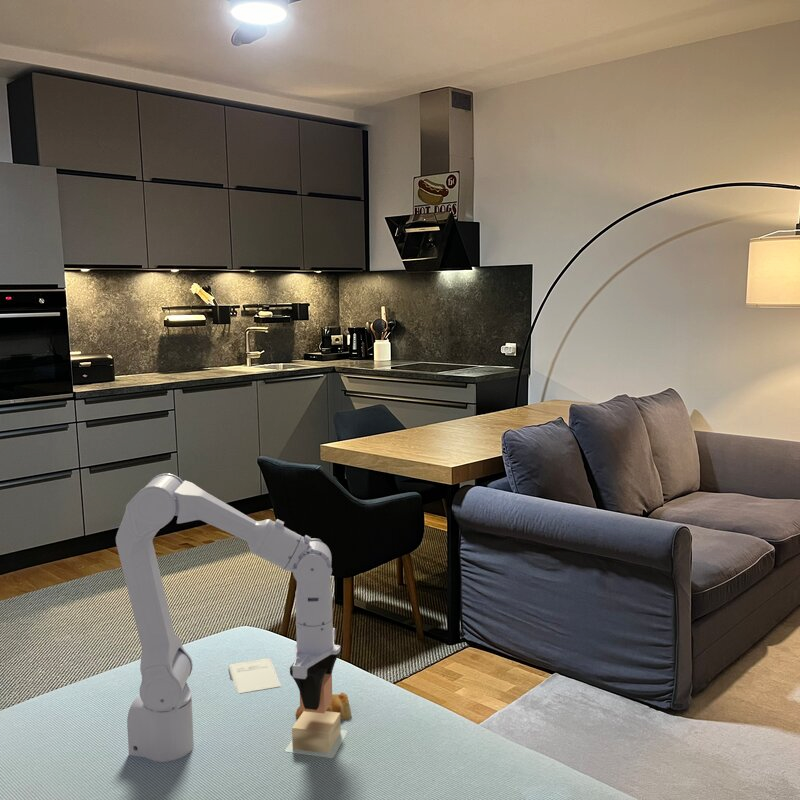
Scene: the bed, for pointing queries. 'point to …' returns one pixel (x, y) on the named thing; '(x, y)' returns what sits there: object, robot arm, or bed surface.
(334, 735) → the base block
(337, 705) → the pastry
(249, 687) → the external hard drive
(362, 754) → the bed surface
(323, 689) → the top block
